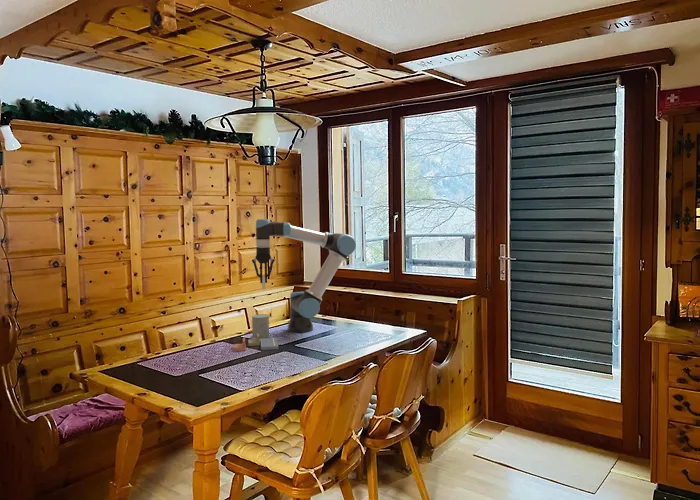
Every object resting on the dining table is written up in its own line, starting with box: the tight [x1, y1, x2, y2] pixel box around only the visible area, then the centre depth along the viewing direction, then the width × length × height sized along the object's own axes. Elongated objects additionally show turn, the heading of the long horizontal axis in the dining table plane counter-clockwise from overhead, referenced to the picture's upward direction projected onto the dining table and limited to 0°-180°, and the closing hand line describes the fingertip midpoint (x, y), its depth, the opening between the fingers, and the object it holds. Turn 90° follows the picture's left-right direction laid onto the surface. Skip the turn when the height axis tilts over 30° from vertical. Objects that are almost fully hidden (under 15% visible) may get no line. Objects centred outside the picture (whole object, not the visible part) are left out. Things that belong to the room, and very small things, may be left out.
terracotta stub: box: [233, 337, 247, 352], centre depth 283 cm, size 6×8×5 cm
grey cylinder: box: [251, 313, 270, 340], centre depth 308 cm, size 10×10×12 cm
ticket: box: [259, 337, 280, 351], centre depth 291 cm, size 9×18×2 cm, turn 11°
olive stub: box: [247, 333, 261, 347], centre depth 293 cm, size 6×8×5 cm
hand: (263, 288), depth 303 cm, fingers closed
